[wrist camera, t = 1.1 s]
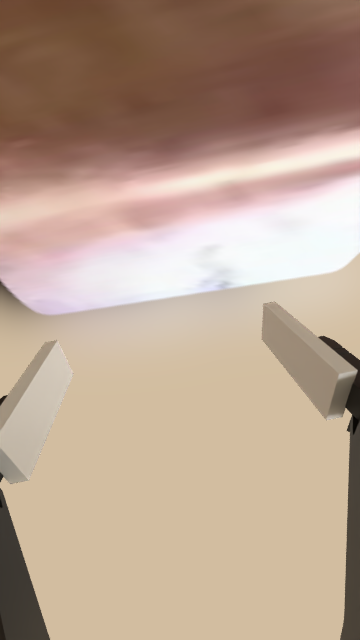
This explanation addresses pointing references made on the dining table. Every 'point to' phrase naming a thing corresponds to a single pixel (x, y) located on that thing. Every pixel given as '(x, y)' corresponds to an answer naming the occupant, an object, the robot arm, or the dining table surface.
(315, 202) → the dining table surface
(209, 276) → the dining table surface
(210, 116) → the dining table surface
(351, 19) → the dining table surface
